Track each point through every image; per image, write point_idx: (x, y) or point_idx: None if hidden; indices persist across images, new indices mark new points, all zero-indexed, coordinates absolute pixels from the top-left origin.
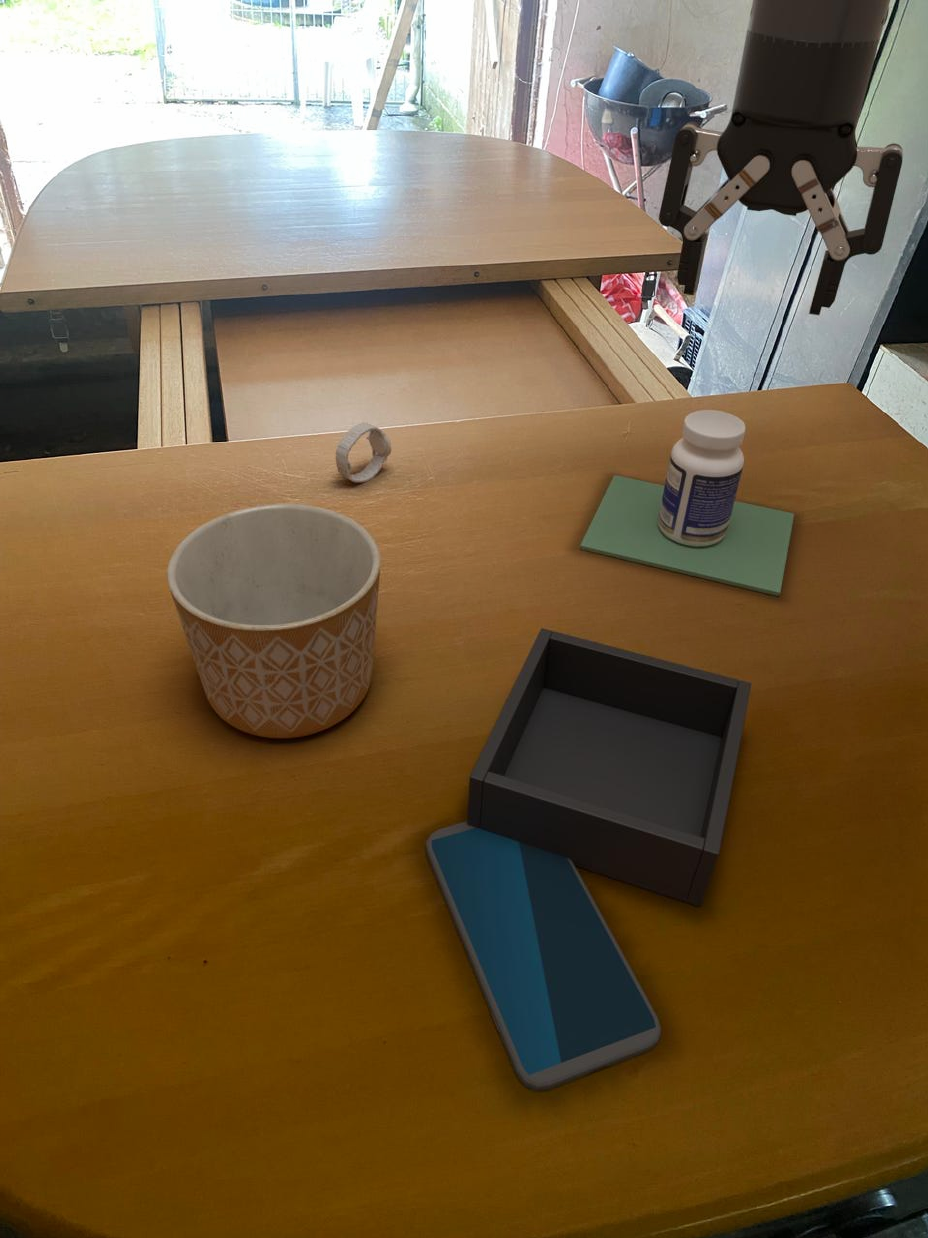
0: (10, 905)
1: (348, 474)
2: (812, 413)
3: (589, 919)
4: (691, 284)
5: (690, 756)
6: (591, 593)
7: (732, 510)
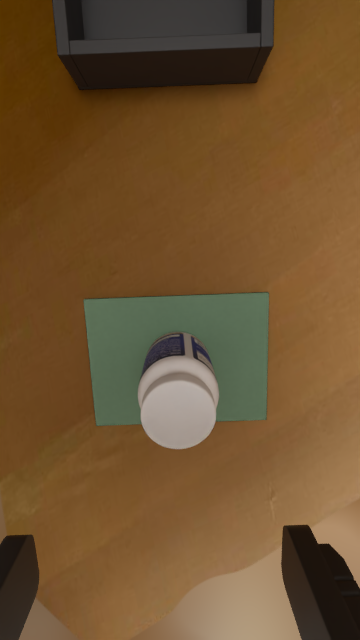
0: None
1: None
2: (113, 599)
3: None
4: (301, 540)
5: (106, 38)
6: (240, 230)
7: None
